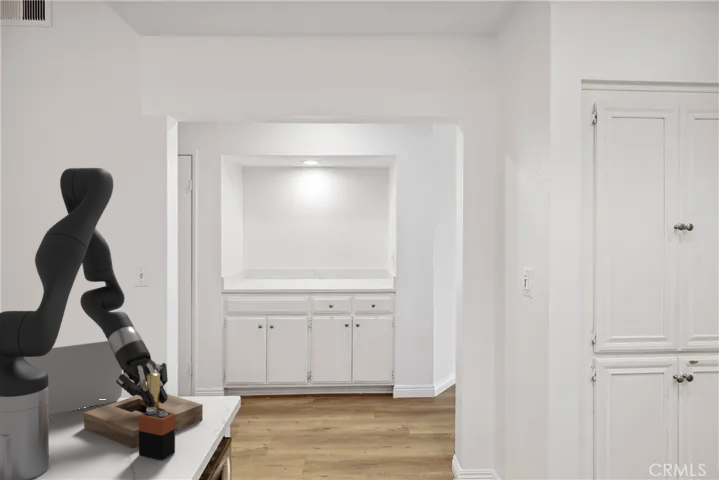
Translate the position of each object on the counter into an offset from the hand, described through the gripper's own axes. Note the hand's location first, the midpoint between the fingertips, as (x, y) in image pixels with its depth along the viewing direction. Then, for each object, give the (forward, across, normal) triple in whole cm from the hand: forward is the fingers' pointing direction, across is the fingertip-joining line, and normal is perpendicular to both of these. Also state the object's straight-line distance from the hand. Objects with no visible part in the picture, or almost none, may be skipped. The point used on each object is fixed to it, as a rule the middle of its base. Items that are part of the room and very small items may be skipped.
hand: (158, 403), depth 124 cm
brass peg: (+3, 0, +6) cm, 6 cm away
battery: (+13, -9, -4) cm, 16 cm away
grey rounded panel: (-18, -6, +28) cm, 34 cm away
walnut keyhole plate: (+1, 0, +8) cm, 8 cm away
